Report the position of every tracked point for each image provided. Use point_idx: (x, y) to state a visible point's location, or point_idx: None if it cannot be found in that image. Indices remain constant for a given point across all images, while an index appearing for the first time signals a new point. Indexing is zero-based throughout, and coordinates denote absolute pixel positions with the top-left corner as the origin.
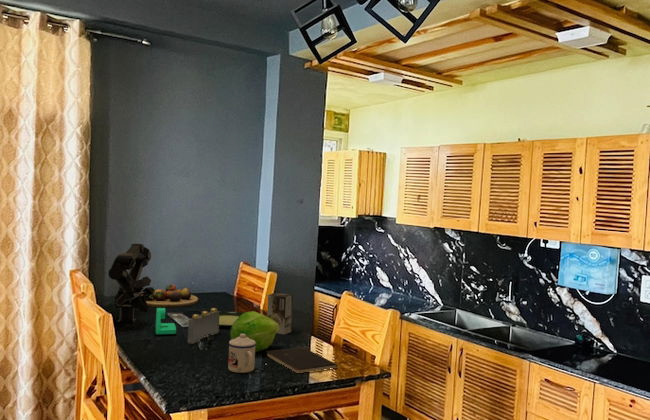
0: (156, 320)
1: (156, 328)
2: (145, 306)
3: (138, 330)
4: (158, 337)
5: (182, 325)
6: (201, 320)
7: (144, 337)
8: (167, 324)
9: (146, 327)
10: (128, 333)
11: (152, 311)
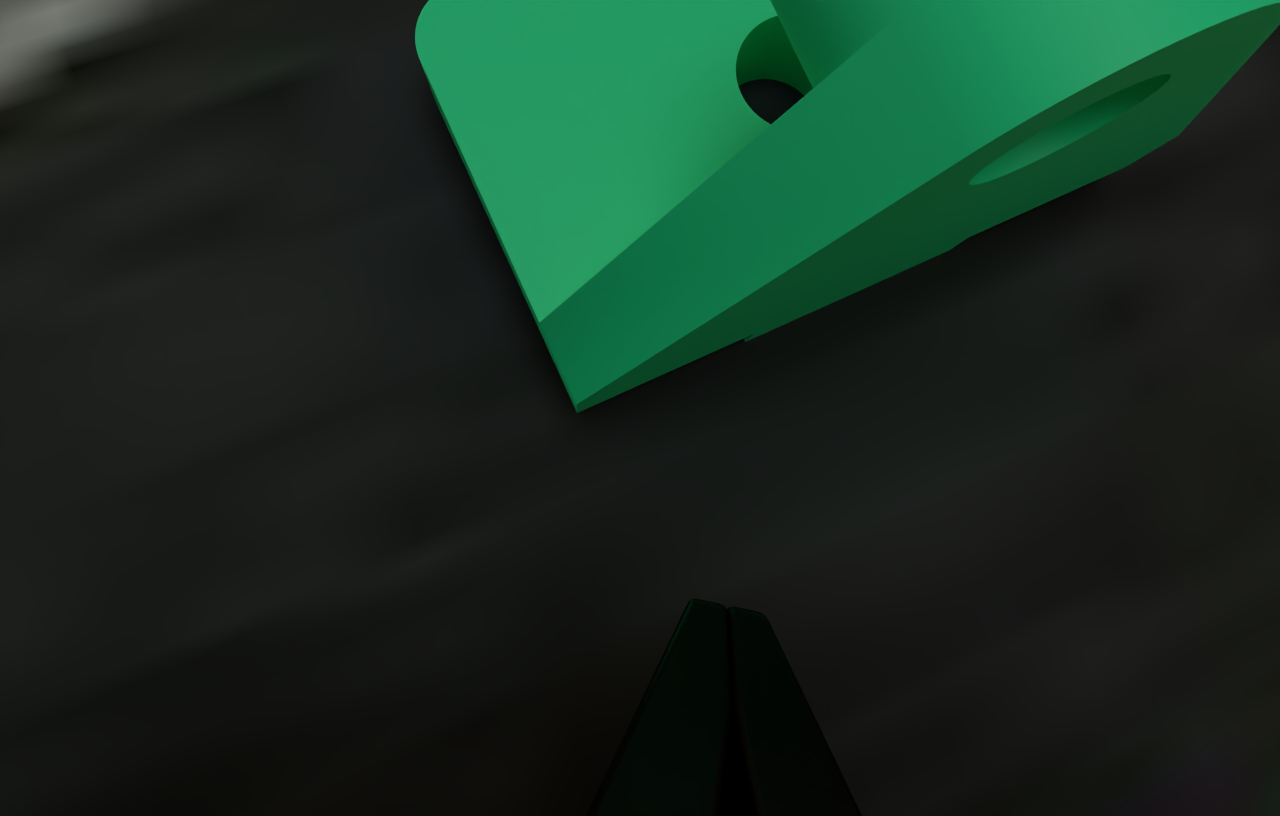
0: (1096, 149)
1: (1182, 129)
2: (783, 792)
3: None
4: None
5: (81, 7)
6: None
7: (1233, 354)
8: (589, 104)
9: (482, 657)
10: (1073, 778)
11: None
